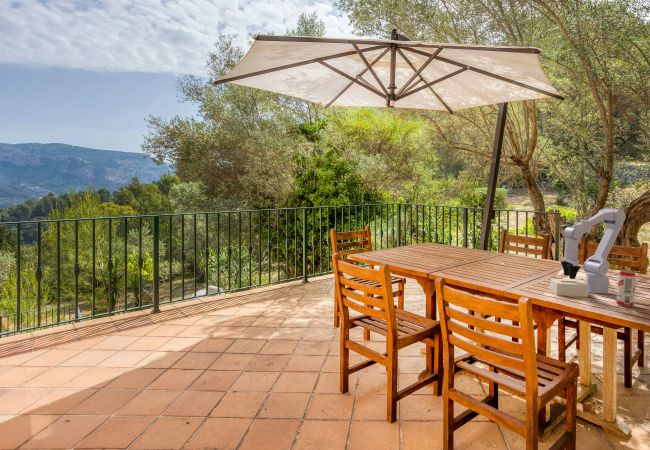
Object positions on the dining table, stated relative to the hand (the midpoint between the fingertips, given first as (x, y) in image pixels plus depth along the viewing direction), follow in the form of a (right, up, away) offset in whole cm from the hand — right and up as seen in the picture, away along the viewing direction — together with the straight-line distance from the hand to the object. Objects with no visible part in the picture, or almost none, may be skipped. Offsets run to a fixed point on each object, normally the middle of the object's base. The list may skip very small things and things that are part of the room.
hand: (569, 277), depth 198 cm
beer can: (+14, -11, -19) cm, 26 cm away
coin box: (0, -8, +1) cm, 8 cm away
